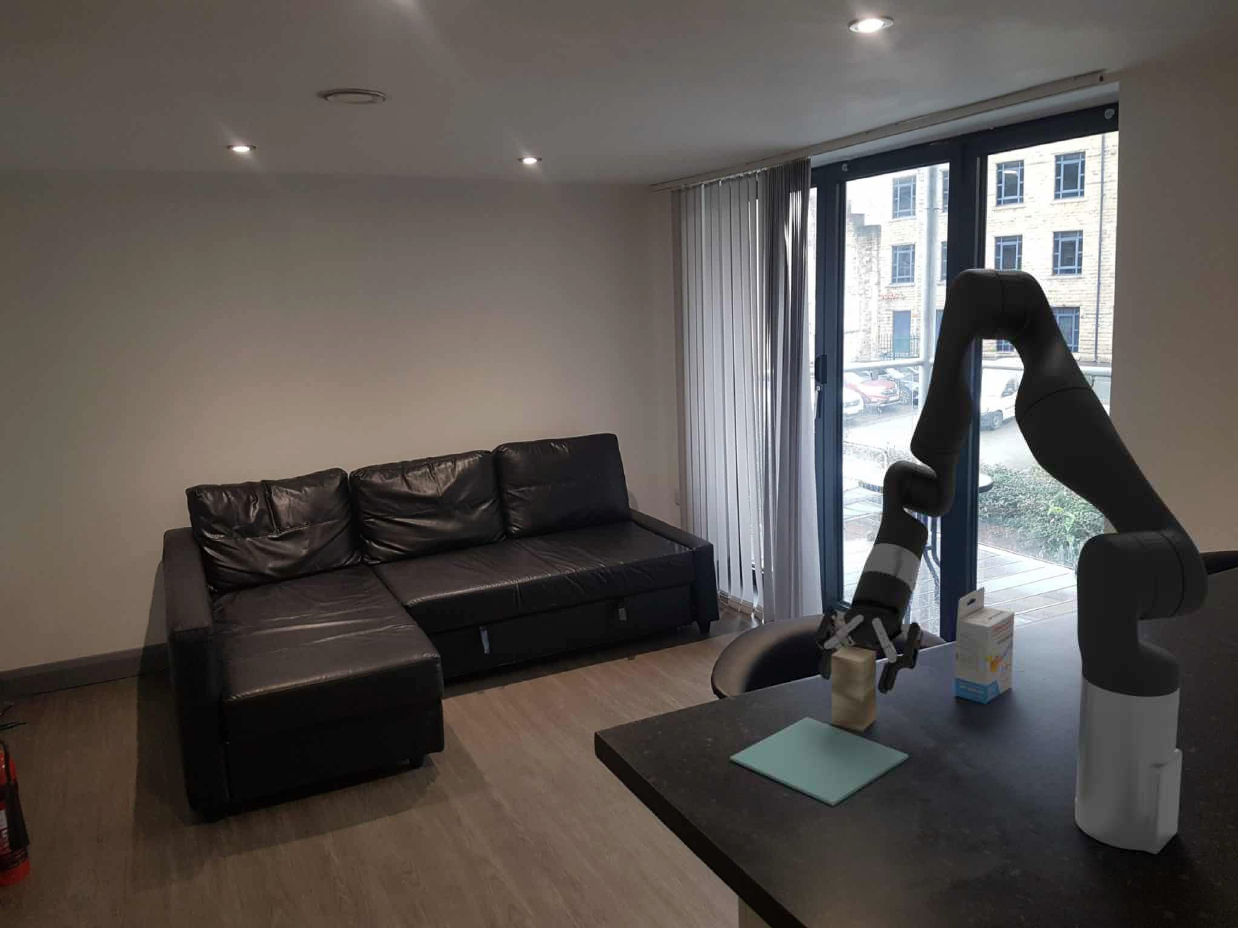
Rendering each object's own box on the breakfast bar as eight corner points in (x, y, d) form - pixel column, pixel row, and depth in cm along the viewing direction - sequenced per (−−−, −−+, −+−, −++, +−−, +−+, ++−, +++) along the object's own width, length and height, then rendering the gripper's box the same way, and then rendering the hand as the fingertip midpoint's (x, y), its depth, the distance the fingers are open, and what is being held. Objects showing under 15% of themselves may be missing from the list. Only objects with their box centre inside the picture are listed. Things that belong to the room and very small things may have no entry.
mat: (908, 757, 121) (908, 754, 121) (833, 805, 111) (833, 802, 111) (806, 719, 133) (806, 716, 133) (730, 759, 123) (730, 756, 123)
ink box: (987, 705, 135) (989, 606, 132) (953, 696, 139) (955, 599, 136) (1013, 686, 141) (1016, 591, 138) (980, 678, 144) (983, 585, 142)
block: (875, 719, 132) (876, 651, 131) (862, 731, 129) (862, 661, 127) (845, 711, 135) (845, 644, 133) (831, 723, 132) (831, 655, 130)
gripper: (833, 562, 139) (796, 661, 133) (928, 577, 130) (894, 684, 124) (848, 587, 144) (814, 684, 138) (942, 603, 136) (909, 707, 129)
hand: (852, 684), depth 131 cm, fingers open, 8 cm apart
